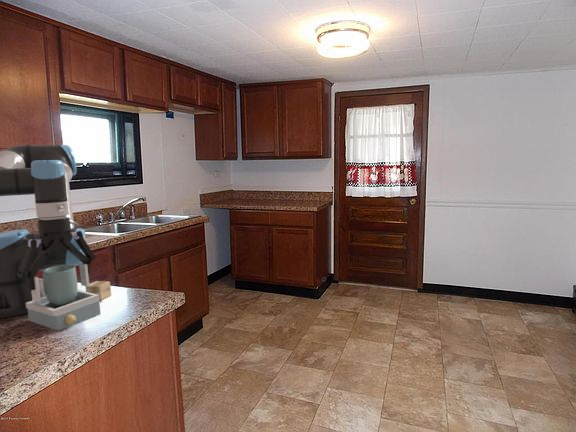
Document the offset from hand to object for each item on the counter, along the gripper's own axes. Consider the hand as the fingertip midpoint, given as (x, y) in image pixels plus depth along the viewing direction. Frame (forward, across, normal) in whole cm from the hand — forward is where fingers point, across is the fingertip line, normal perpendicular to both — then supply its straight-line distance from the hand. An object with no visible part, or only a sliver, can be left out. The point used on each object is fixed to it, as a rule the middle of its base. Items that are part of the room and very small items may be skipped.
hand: (62, 292), depth 107 cm
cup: (+3, 0, 0) cm, 3 cm away
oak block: (+7, +14, +5) cm, 17 cm away
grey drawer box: (+7, 0, 0) cm, 7 cm away
